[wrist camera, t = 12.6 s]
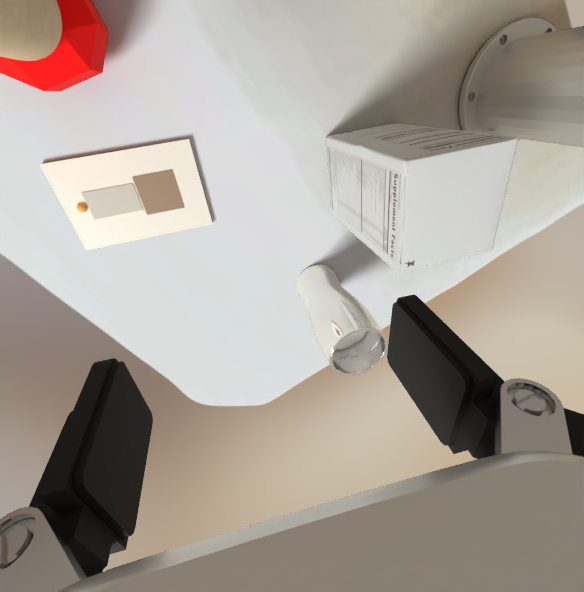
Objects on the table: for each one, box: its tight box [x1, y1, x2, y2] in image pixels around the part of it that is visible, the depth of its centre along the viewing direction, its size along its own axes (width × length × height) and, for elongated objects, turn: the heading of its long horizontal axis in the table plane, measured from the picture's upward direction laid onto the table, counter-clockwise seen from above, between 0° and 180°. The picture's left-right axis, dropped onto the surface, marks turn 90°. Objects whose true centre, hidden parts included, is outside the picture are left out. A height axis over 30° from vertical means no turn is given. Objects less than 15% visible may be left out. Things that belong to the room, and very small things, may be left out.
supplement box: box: [326, 123, 518, 273], centre depth 31 cm, size 10×9×17 cm
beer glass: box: [296, 264, 388, 376], centre depth 39 cm, size 7×7×15 cm
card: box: [40, 139, 213, 250], centre depth 33 cm, size 14×9×1 cm, turn 96°
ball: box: [0, 0, 108, 91], centre depth 23 cm, size 8×8×8 cm
